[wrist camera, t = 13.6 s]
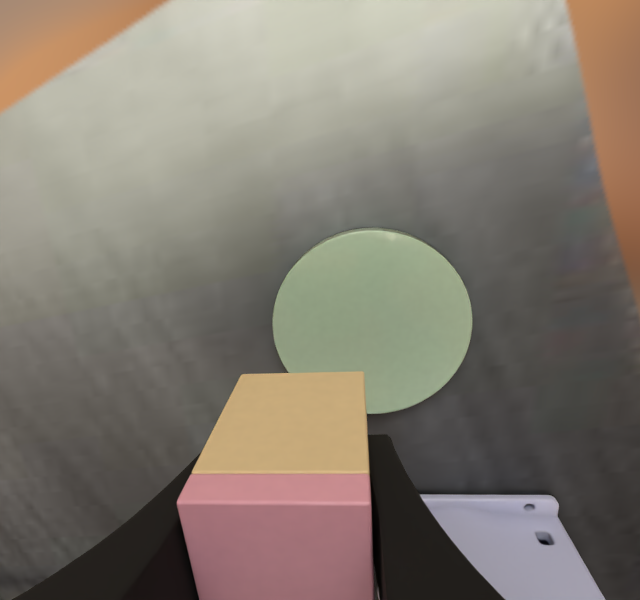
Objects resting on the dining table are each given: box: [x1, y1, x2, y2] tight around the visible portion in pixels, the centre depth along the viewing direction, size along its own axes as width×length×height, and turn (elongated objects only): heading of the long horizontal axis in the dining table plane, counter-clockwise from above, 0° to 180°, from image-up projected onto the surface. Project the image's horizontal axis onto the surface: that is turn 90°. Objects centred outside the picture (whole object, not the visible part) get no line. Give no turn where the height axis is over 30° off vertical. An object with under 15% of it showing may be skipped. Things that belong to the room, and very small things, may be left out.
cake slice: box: [177, 371, 375, 600], centre depth 11 cm, size 4×4×5 cm
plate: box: [272, 228, 472, 414], centre depth 19 cm, size 9×9×1 cm
